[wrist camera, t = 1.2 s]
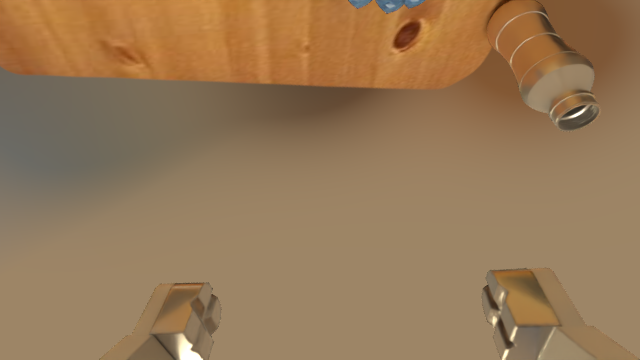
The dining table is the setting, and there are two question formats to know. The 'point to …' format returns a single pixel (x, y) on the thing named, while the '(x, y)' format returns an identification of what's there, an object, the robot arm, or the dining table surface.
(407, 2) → the grapes
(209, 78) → the dining table surface
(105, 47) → the dining table surface
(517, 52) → the plastic bottle
